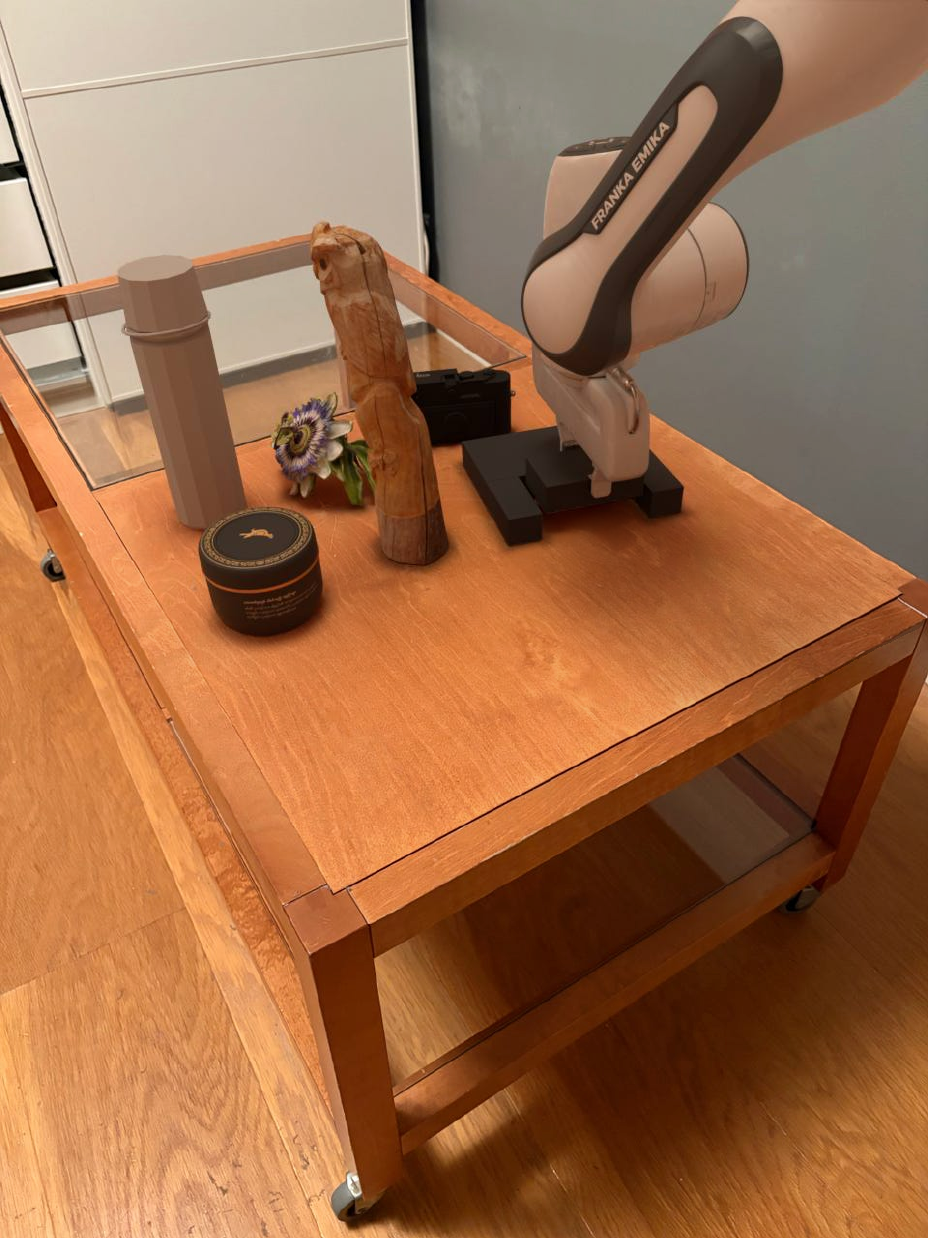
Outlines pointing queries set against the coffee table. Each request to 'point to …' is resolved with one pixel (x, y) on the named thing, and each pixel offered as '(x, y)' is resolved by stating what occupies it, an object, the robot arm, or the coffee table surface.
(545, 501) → the black pad
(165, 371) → the water bottle
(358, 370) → the sculpture
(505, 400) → the camera
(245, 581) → the jar
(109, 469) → the coffee table surface
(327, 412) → the passion flower
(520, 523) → the base pad
